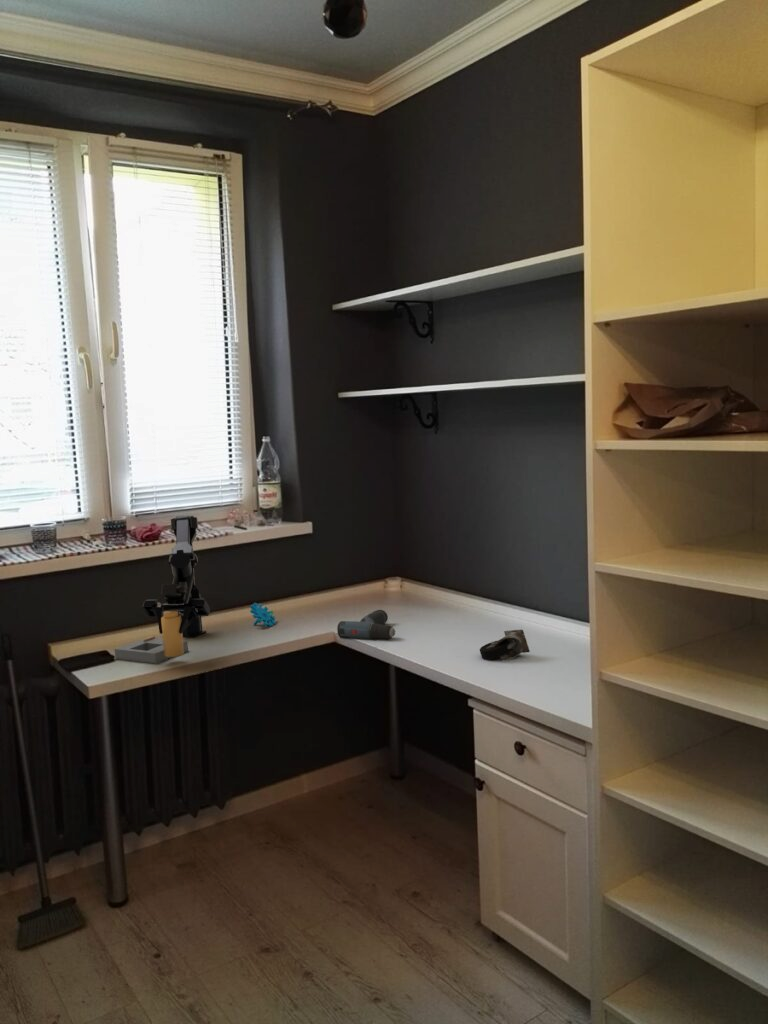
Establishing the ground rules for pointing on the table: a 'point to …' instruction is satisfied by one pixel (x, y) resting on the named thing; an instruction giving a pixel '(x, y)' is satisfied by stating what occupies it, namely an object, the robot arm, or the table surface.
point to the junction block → (144, 650)
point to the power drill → (367, 627)
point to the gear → (262, 615)
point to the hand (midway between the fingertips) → (170, 633)
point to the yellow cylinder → (172, 634)
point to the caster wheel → (506, 646)
